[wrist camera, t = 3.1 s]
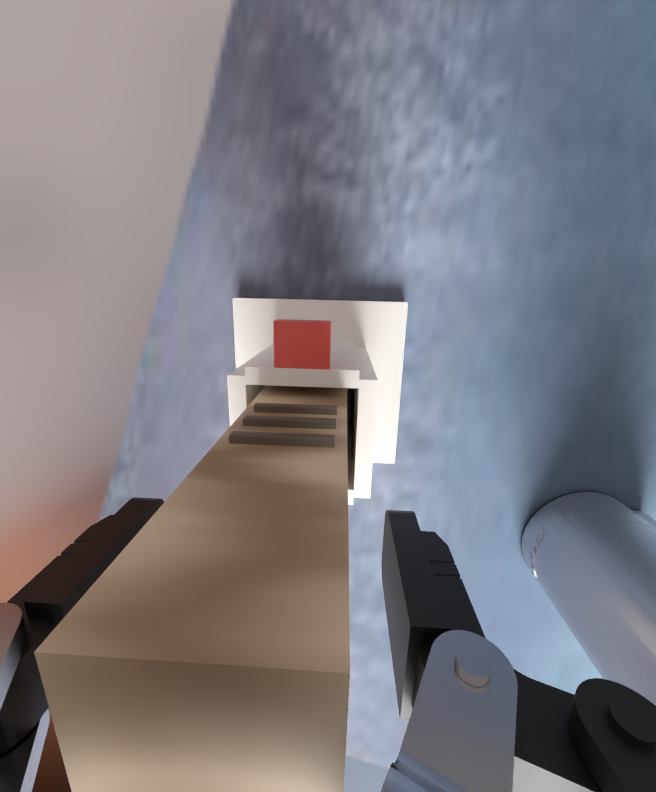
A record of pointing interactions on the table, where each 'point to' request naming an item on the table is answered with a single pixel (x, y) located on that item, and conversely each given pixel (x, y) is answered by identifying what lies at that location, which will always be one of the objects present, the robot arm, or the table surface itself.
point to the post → (221, 622)
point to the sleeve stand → (327, 366)
